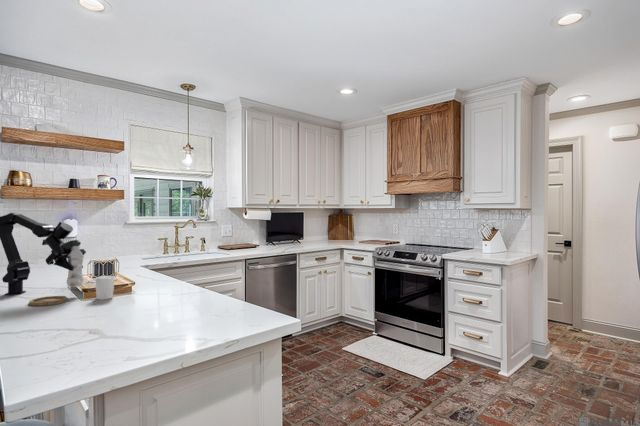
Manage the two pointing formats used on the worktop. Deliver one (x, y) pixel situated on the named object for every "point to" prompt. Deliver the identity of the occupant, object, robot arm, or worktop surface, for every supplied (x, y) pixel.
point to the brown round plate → (48, 301)
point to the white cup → (104, 287)
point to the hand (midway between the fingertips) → (77, 269)
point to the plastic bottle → (75, 267)
